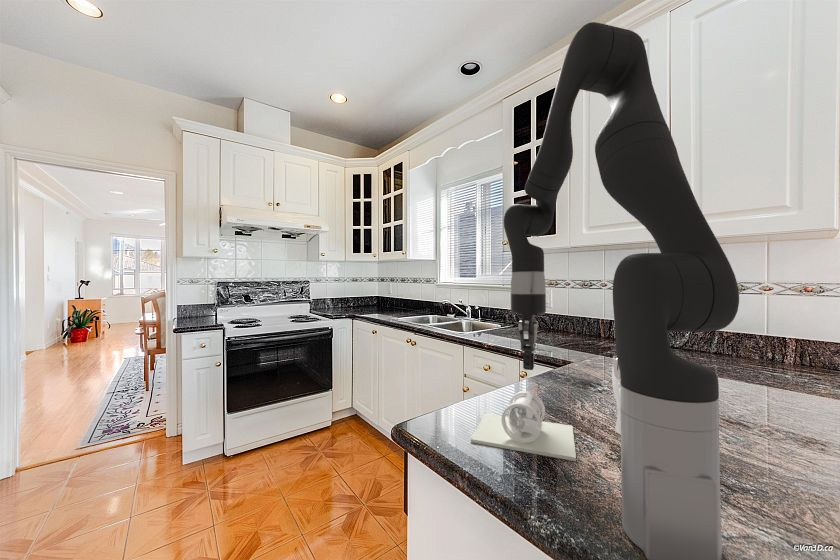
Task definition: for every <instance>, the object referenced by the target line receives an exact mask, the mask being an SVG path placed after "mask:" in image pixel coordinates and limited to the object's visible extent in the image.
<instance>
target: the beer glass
mask: <svg viewBox="0 0 840 560" xmlns="http://www.w3.org/2000/svg"><path fill="white" fill-rule="evenodd" d="M611 365H612V368H611V369H612V370H611V384H612V391H613V397H614V400H615V406H616V421H615V427H614V431H615V433H616V434H618V435H619V436H621V393H620V369H619V364H618V360H617V354H616V355H613V356H612V364H611Z"/></svg>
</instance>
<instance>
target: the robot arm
mask: <svg viewBox="0 0 840 560" xmlns="http://www.w3.org/2000/svg"><path fill="white" fill-rule="evenodd" d="M651 76H652V75H651V70H650V65H649V60H648V55H647V50H646V45H645V42H644V40H643V38H642V37H641V36H640V35H639V34H638V33H636V32H635V31H633V30H631V29H627V28H623V27H619V26H614V25H609V24H605V23H600V22H596V21H593V22H588V23H586V24H584V25H583V26H582V27H581V28H580V29H579V30H578V31H577V32H576V33H575V35H574V36H573V38H572V39H571V42H570V44H569V46H568V48H567V51H566V53H565V55H564V59H563V62H562V65H561V67H560V71H559V74H558V79H557V82H556V87H555V90H554V93H553V97H552V100H551V105H550V108H549V112H548V116H547V120H546V125H545V129H544V132H543V137H542V140H541V143H540V146H539V149H538V153H537V155H536V158H535V160H534V163H533V164H532V167H531V169H530V172H529V174H528V178H527V180H526V182H525V184H524V191H525V194H526V195H527V196H528V197H529V198H531V199H533V200H535V201H536V203H535V205H533V204H532V205H531V204H521V203H516V204H515V203H514V204H512V205H510V206H509V207H508V208H507V209H506V211H505V214H504V216H503V227H504V228H503V229H504V232H505V234H506V239H507V242H508V246H509V250H510V254H511V278H510V311H511V313H513V314H515V315H516V314H517V315H518V314H520V316H521V320H519V321H518V325H517V326H518V330H519V331H518V332H519V333H518V334H519V342H520V350H521V352H522V354H523V355H522V366H523V367H522V369H524V370H527V371H533V370H534V368H535V362H534V361H535V351H536V342H537V340H538V339H537V338H538V335H537V334H538V327H539V322H538V321H537V320H536V321H535V315H543V314H545V313H546V312H547V310H546V309H547V303H546V300H547V299H546V298H547V297H546V293H547V291H546V289H547V287H546V278H545V252H544V249H543V248H542V247H540V246H537V245H535V244H532V243H530V241H529V238H528V237H541V236H543V235H545V234H546V233H547V232H549V230H550V229H551V227H552V225H553V221H554V215H555V210H556V204H557V201H558V200H557V199H558V195H559V193H560V191H561V188H562V186H563V184H564V182H565V180H566V178H567V176H568V174H569V172H570V169H571V166H572V162H573V158H574V156H573V155H574V154H573V153H574V148H573V136H572V116H573V115H572V113H573V108H574V105H575V101H576V100H577V97H578V94H579V92H580V90H582V91H585V92H591V93H597V94H600V95H603V96H604V97H605V98H606V100H607V102H608V104H609V107H610V114H609V116H608V118H607V119H606V121H605V122H604V124H603V125H602V127H601V129H600V130H599V133H598V135H597V138H596V141H595V143H594V153H595V155H594V156H595V159H596V163H597V169H598V171H599V177H600V181H601V183H602V186H603V187H604V189H605V191H606V192H607V193H608V195H609V196H610V197H611V198H612V199H613V200H614V201H615V202H616V203H617V204H618V205H619V206H620V207H622V208H623V209H624V210H625V211H626V212H628V213H629V214H630V215H631V216H632V217H634V219H635V220H637V221H638V222H639V223H640V224H641V225H642V226H643V227H645V230H647V231H648V232H649V233H650V234H651V236H652V238H653V240H654V241H655V243H656V244H657V247H658V250H659V252H644V253H640V252H639V253H634V254H629V255H627V256H625V257H624V258H623V259H621V261H619V263H618V265H617V267H616V269H615V272H614V275H613V280H612V306H613V307H612V308H613V309H612V310H613V320H614V321H613V322H614V331H615V332H614V333H615V336H614V337H615V353H616V355H617V360H618V364H619V369H620V393H621V435H620V463H621V464H620V468H621V469H620V470H621V471H620V472H621V473H620V476H621V483H620V485H621V491H620V492H621V525H622V528H623V531H624V533H625V534H626V536H627V537H628V538H629V540H631V542H633V544H635V545H636V546H637V547H638V548H639V549H640V550H641V551H643V554H644V556H645V558H646V559H647V560H722V559H723V553H722V552H723V551H722V550H723V549H722V544H723V543H722V541H723V540H722V511H721V507H722V505H721V502H722V501H721V464H720V462H721V461H720V460H721V459H720V453H721V452H720V451H721V450H720V408H719V407H720V401H719V399H720V396H719V395H720V392H719V391H720V390H719V389H720V387H719V378H718V375H717V373H716V372H715V371H714V370H713V369H712V368H709V367H707V366H705V365H702V364H699V363H697V362H695V361H691V360H688V359H686V358H683V357H681V356H679V355H677V354H676V353H675V352H674V351H673V350H672V348H671V345H670V341H669V340H670V339H669V334H668V332H669V333H670V332H677V333H679V332H683V333H686V332H689V333H690V332H694V333H696V332H698V333H699V332H700V333H704V332H715V331H720V330H724V329H725V328H727V327H729V325H730V324H731V323H732V322H733V321H734V319H735V318H736V315H737V313H738V310H739V306H740V291H739V286H738V281H737V277H736V275H735V272H734V270H733V268H732V264H731V263H730V261H729V259H728V257H727V255H726V254H725V252H724V250H723V248H722V246H721V244H720V242H719V241H718V239H717V237H716V235H715V234H714V232H713V230H712V228H711V226H710V224H709V222H708V221H707V219H706V218H705V216H704V214H703V212H702V209H701V207H700V206H699V204H698V201H697V199H696V197H695V195H694V193H693V191H692V188H691V186H690V183H689V180H688V178H687V176H686V174H685V171H684V168H683V166H682V163H681V160H680V157H679V153H678V151H677V146H676V144H675V141H674V139H673V136H672V133H671V130H670V128H669V126H668V123H667V122H666V120H665V117H664V115H663V112H662V110H661V109H662V108H661V107H660V103H659V101H658V98H657V94H656V92H655V88H654V85H653V82H652V77H651Z"/></svg>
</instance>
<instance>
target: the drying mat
mask: <svg viewBox="0 0 840 560" xmlns="http://www.w3.org/2000/svg"><path fill="white" fill-rule="evenodd" d="M525 420H527V419H525ZM505 421H506V425H507V427H508V429H509V430H510V431H511V432H512V433H513V434H514V435H515V433H516V432H515V431H512V430H511V427H510V425H509V418H508V415H506V416H505ZM472 434H473V435H472V436H471V437H470V443H473V444H479V445H483V446H491V447H495V448H499V449H500V448H501V449H506V450H513V451H515V452H516V451H517V452H523V453H527V454H534V455H540V456H544V457H550V458H556V459H561V460H567V461H573V462H577V454H576V446H575V445H576V444H575V436H574V427H573V425H569V424H563V423H558V422H557V423H556V422H550V421H544V420H543V421H542V427H541V432H540V435H539V437H537V438H536V439H535V440H534V441H532V442H529V443H520V442H517V441H515V440H513V439H512V438H510V437H509V436H508V435H507V434H506V432H505V431H504V429H503V426H502V415H500V414H496V413H495V414H494V413H487V412H486V413H484V415H483V416H482V418H481V421H480V423H479V424H478V426H477V427H476V429H475V430H474V433H472ZM533 435H534V434H531V433H529V432H523V433H522V435H521V437H522V438H528V437H531V436H533Z"/></svg>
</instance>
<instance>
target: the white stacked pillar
mask: <svg viewBox="0 0 840 560" xmlns="http://www.w3.org/2000/svg"><path fill="white" fill-rule="evenodd" d="M516 409H517V410H516ZM507 413H508V415H507ZM545 415H546V407H545V404H544V402H543V401H542V398H540V397H539V396H538V395H536V394H535V393H533V392H531V391H526V390H525V391H524V390H523V391H519V392H515V394H514V395H512V397H511V398H510V400H509V403H508V405H507V406H506V407H505V409H504V411H503V412H502V426H503V429H504V431H505V432H506V434H507V435H508V436H509V437H510V438H512V439H513V440H515V441H517V442H520V443H529V442H532V441H534V440H535V439H536V438H537V437H539V435H540V432H541V427H542V421H544V418H545ZM505 416H508V418H509V425H510V427H511V430H512V431H515V432H516V433H515V435H514V434H513V433H512V432H511V431H510V430H509V429H508V427H507V425H506V421H505ZM533 416H534V417H535V418H533ZM525 419H527V420H525ZM523 432H529V433H531V434H534V435H533V436H531V437H528V438H522V437H521V435H522V433H523Z"/></svg>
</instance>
